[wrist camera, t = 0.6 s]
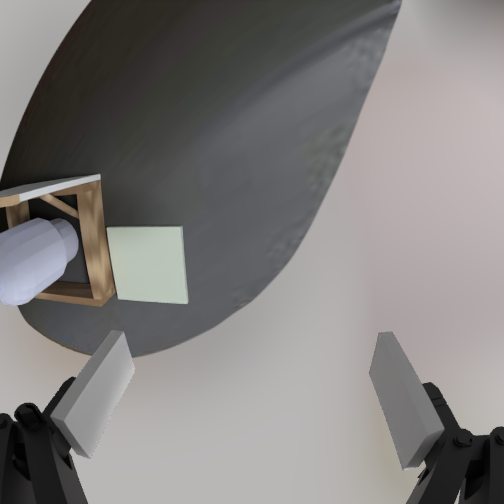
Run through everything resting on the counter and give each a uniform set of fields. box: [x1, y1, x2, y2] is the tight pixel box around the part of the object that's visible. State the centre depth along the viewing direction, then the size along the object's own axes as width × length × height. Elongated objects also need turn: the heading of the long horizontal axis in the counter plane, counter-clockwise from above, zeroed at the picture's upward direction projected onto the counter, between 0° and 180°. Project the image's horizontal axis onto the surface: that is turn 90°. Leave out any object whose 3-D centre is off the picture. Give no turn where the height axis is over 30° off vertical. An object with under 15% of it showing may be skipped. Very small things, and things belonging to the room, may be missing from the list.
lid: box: [0, 174, 100, 207], centre depth 31 cm, size 1×19×19 cm, turn 90°
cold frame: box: [6, 180, 115, 307], centre depth 37 cm, size 19×18×12 cm
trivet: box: [107, 225, 188, 304], centre depth 43 cm, size 12×12×1 cm
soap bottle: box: [0, 218, 78, 305], centre depth 32 cm, size 10×10×24 cm
